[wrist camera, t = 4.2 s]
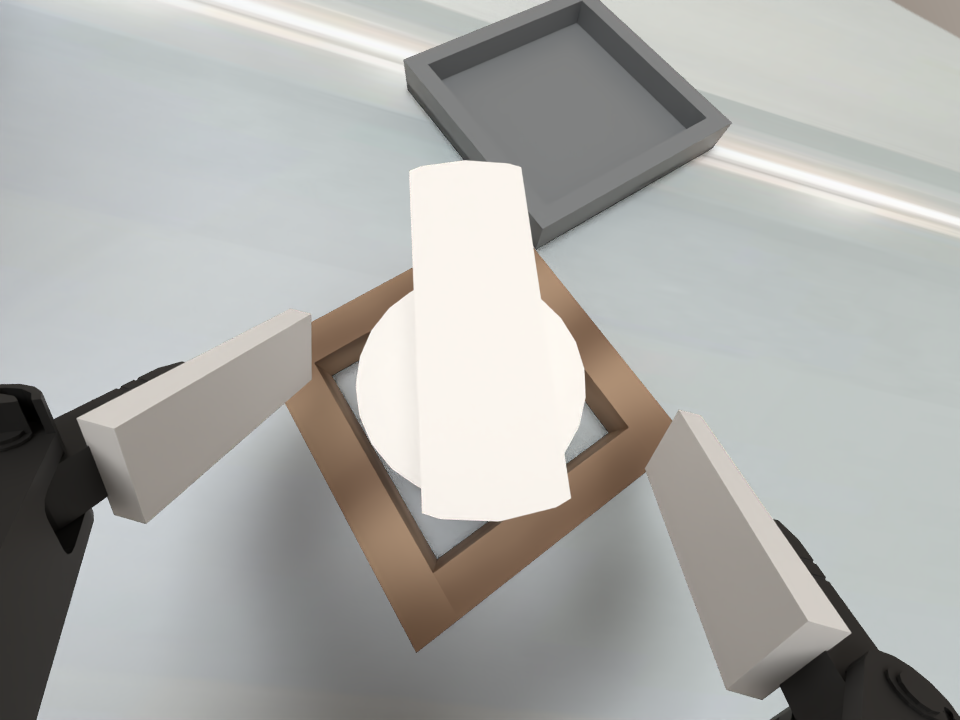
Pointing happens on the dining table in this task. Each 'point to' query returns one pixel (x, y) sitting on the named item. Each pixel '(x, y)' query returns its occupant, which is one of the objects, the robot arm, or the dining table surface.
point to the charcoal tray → (565, 108)
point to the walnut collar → (498, 544)
